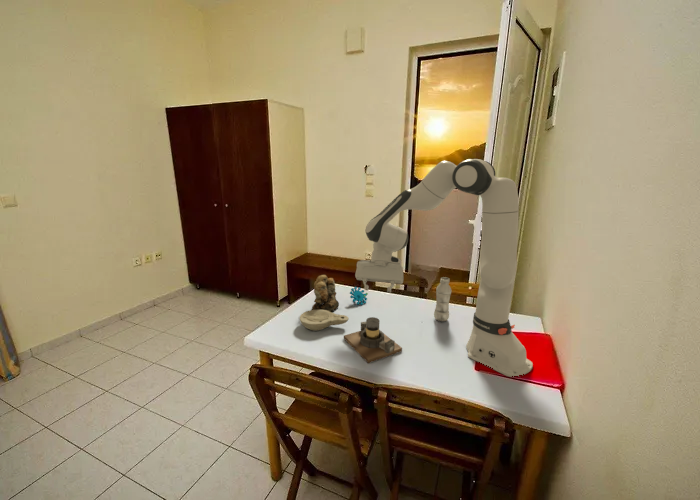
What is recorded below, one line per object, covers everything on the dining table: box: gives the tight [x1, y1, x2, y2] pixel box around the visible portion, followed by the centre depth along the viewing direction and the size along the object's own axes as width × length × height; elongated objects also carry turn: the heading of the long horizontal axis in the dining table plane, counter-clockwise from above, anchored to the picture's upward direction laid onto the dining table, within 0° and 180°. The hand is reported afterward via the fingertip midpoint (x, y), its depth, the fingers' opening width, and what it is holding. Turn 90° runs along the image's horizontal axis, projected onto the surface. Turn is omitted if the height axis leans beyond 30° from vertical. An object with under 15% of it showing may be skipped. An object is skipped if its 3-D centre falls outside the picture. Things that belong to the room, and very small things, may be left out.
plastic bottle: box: [433, 276, 452, 323], centre depth 136 cm, size 6×7×20 cm
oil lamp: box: [299, 309, 350, 332], centre depth 131 cm, size 21×14×5 cm
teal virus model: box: [349, 286, 369, 306], centre depth 156 cm, size 11×6×10 cm
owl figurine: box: [311, 274, 340, 313], centre depth 147 cm, size 18×12×17 cm, turn 160°
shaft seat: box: [343, 321, 403, 364], centre depth 118 cm, size 19×15×5 cm
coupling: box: [365, 316, 380, 340], centre depth 117 cm, size 5×5×9 cm
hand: (377, 290), depth 125 cm, fingers open, 8 cm apart
